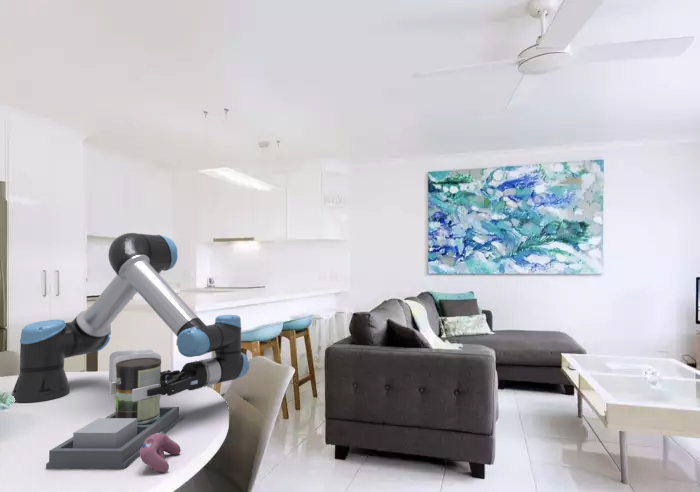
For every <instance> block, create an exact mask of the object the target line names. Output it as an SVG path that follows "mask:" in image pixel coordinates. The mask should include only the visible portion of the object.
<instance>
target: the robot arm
mask: <svg viewBox="0 0 700 492" xmlns="http://www.w3.org/2000/svg"><path fill="white" fill-rule="evenodd" d="M178 256H179V255H178V248H177V245H176V243H175V242H174V240H172V239H171V238H170V237H168V236H166V235H160V234H147V233H137V232H127V233H123V234H121V235H119V236H117V238H115V239H113V241H112V242H111V244H110V245H109V250H108V261H109V265H110V266H111V268H112V270H113V271H114V272H115V274H116V275H115V277H114V278H113V279H112V280H111V281H110V283H109V284H108V285H107V286H106V288H105V289H104V290H103V291H102V293H101V294H99V296H98V297H97V298H96V300H95V301H94V302H93V303H92V305H91V306H90V307H89V308H88V310H86V309H85V310H82V311H80V312H79V313H78V314H76V315H77V316H76V317H75V318H74V319H73V320H72V321H69V322H66V321H65V320H63V319H49V320H40V321H37V322H33V323H29V324H27V325H24V326H23V328H22V329H21V333H20V339H19V342H20V346H19V347H20V351H19V353H20V355H19V373H18V377H17V380H16V383H15V384H14V387H13V390H12V392H11V397H12V396H14V398H15V400H16V402H15V403H35V402H43V401H44V402H45V401H50V400H54V399H58V398H61V397H64V396H67V395H68V394H69V393H70V390H71V389H70V388H71V386H70V383H69V381H68V377H67V374H66V371H65V359H68V358H71V357H72V358H73V357H77V356H83V355H90V354H94V353H96V352H99V351H101V350H103V349H104V348H105V347H106V346H107V345H108V343H109V342H110V339H111V337H110V336H111V333H112V332H111V326H112V325H111V324H112V322H114V320H116V318H117V317H118V316H119V314H120V313H122V311H123V310H124V308H126V306H127V305H128V304H129V303H130V302H131V300H132V299H133V298H134V297H135V295H137V293H138V294H139V295H140V296H141V298H143V300H144V301H145V302H146V303H147V304H148V305H149V306H150V307H151V309H152V310H153V311H154V312H155V313H156V314H157V316H158V317H159V318H160V319H161V321H163V322H164V323H165V325H166V326H167V327H168V328H169V329H170V330H171V331H172V332H173V334H174V335H175V336H176V337H177V338H176V346H177V350H178V352H179V353H180V354H181V356H184V357H187V358H193V357H200V356H203V355H205V354H208V353H212V352H214V355H215V357H208V358H204V359H200V360H195V361H191V362H187V363H186V362H185V364H184V365H183V367H182V369H181V371H180V370H177V369H176V370H173V371H172V370H170V369H167V370H164V371H161V372H160V384H154V385H150V386H146V387H141V388H137V389H132V401H133V402H134V401H138V400H142V399H146V398H150V397H154V396H158V395H159V394H160V396H165V395H166V396H169V397H170V396H173V395H176V394H178V393H181V392H184V391H186V390H188V391H195V390H199V389H201V388H205V387H207V388H211V386H212V385H213V386H214V385H217V384H220V383H224V382H230V381H234V380H237V379H240V378H242V377H244V376H246V375H247V374H248V371H249V369H250V362H249V358H248V356H247V354H245V353H243V352H242V350H241V349H242V324H241V323H242V321H241V317H240V316H239V315H237V314H221V315H218V316H216V317H215V320H214V324H209V325H206V324H205V323H204V321H202V320H201V319H200V317H199V316H198V315H197V314H196V313H195V311H193V310H192V309H191V308H190V306H189V305H188V304H187V303H186V302H185V301H184V300H183V299H182V297H181V296H180V295H179V294H178V293H177V292H176V291H175V290H174V289H173V288H172V287H171V285H170V284H169V283H168V282H167V281H166V280H165V279H164V278H163V277H162V276H161V274H160V273H161V272H163V271H164V272H167V271H169V270H171V269H173V268H174V267H175V266H176V263H177V260H178ZM109 395H116V382H112V383H110V382H109Z"/></svg>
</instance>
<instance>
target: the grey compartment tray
mask: <svg viewBox="0 0 700 492" xmlns="http://www.w3.org/2000/svg"><path fill="white" fill-rule="evenodd" d="M184 418H185V414H184V413H182V414H180V406H160V417H159V418H158V419H156V420H154V421H152V422H149V423H145V424H140V425H137V420H138V418H115V412H113V413H111V414H109V415H108V416H106V417H99V418H96V419H95V420H93V421H92V422H90V423H88V424H86V425H84V426H83V427H81V428H79V429H78V430H76V431H75V432H73V433H72V434H73V435H72V437H70V438H68V439H67V440H65V441H63V442H62V443H60V444H58V445H56V446H55V447H53V448H51V449H50V450H48V451H49V455H48V462H46V463H45V469H49V470H50V469H54V470H55V469H56V470H59V469H61V470H64V469H65V470H68V469H72V470H75V469H78V470H80V469H81V470H83V469H84V470H85V469H86V470H87V469H88V470H89V469H91V470H92V469H93V470H122V469H123V470H125V469H127V468H128V467H129V466H130V465H131V464H132V463H133V462H135V461H136V459H138V458H140V448H141V447H143V444H144V442H145V440H146V439H147V438H148V437H149V436H151V435H153V434H156V433H160V432H162V433H163V434H166V435H167V433H168V432H170V431H171V430H172V429H173V428H174V427H176V425H178V424H179V423H180V422H181V421H182V420H183V419H184Z"/></svg>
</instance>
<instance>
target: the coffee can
mask: <svg viewBox="0 0 700 492" xmlns="http://www.w3.org/2000/svg"><path fill="white" fill-rule="evenodd" d="M160 370H161V371H162V358H161V359H158V358H135V359H128V360H124V361H120V362H118V363H116V393H115V418H138V420H137V425H140V424H145V423H149V422H152V421H154V420H156V419H158V418H159V417H160V407H161V394H159V395H158V396H154V397H150V398H146V399H142V400H138V401H134V402H133V401H132V389H137V388H141V387H146V386H150V385H154V384H160Z"/></svg>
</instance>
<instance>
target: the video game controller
mask: <svg viewBox="0 0 700 492" xmlns="http://www.w3.org/2000/svg"><path fill="white" fill-rule="evenodd" d="M181 450H182V449H181V447H180V445H179V444H178V443H177V442H176V441H174V440H173V439H171V438H170V437H169V436H168V435H167V433H166V434H163V433H162V432H160V433H156V434H153V435H151V436H149V437H148V438H147V439H146V440H145V442H144V444H143V447H141V448H140V456H139V458H140V459H141V461H142V462H143V463H144V464H145V465H147V466H148V467H149V468H151V469H152V470H154V471H155V472H158V473H161V474H162V473H166V472H168V470H170V469H169V468H170V466H169V463H168V462H167V460H166V459H165V458H166V455H165V453H167V454H170V455H173V456H177V455H179V454H180V453H181V452H182V451H181Z"/></svg>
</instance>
